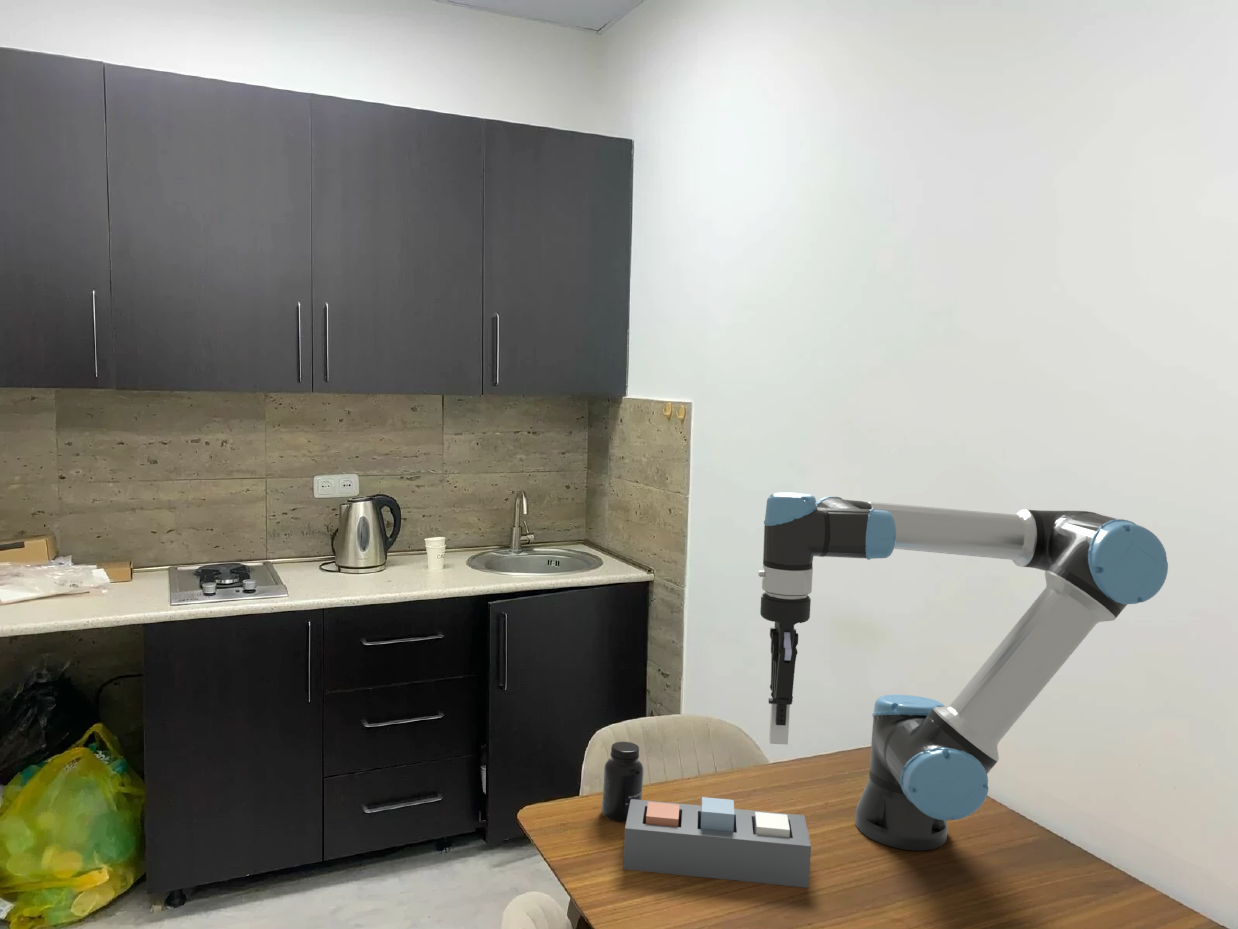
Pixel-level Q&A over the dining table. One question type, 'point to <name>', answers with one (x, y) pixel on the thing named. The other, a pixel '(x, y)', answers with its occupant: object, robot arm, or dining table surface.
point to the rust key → (662, 814)
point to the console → (717, 848)
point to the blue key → (717, 814)
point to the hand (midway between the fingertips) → (778, 742)
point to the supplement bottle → (622, 780)
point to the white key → (771, 824)
